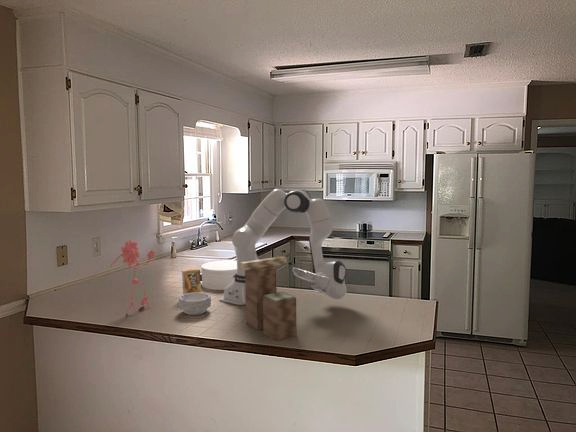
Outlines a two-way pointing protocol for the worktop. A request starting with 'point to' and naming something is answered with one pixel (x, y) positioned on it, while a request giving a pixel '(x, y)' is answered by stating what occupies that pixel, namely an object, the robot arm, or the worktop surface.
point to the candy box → (191, 281)
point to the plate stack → (218, 274)
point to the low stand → (279, 315)
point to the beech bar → (263, 263)
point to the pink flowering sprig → (130, 257)
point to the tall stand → (258, 293)
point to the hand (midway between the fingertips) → (299, 271)
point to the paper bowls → (194, 303)
